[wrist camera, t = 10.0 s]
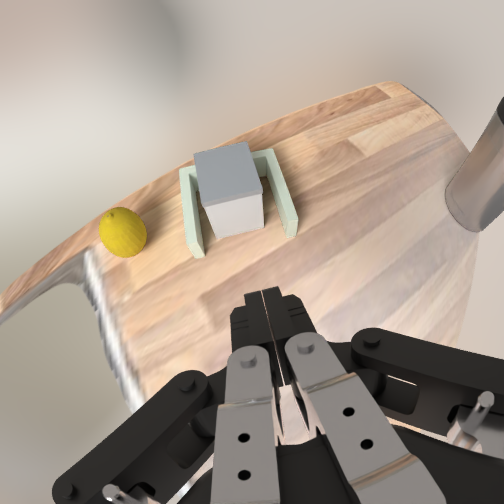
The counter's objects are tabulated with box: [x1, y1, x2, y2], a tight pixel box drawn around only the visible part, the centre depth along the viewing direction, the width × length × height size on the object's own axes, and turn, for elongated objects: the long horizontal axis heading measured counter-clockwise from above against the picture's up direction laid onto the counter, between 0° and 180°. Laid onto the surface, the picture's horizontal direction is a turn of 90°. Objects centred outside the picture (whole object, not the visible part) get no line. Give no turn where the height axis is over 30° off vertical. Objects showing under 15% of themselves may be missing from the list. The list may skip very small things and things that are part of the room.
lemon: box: [99, 207, 147, 258], centre depth 32 cm, size 6×6×8 cm
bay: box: [179, 148, 298, 259], centre depth 35 cm, size 12×11×4 cm
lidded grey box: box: [194, 141, 264, 239], centre depth 33 cm, size 6×7×8 cm
